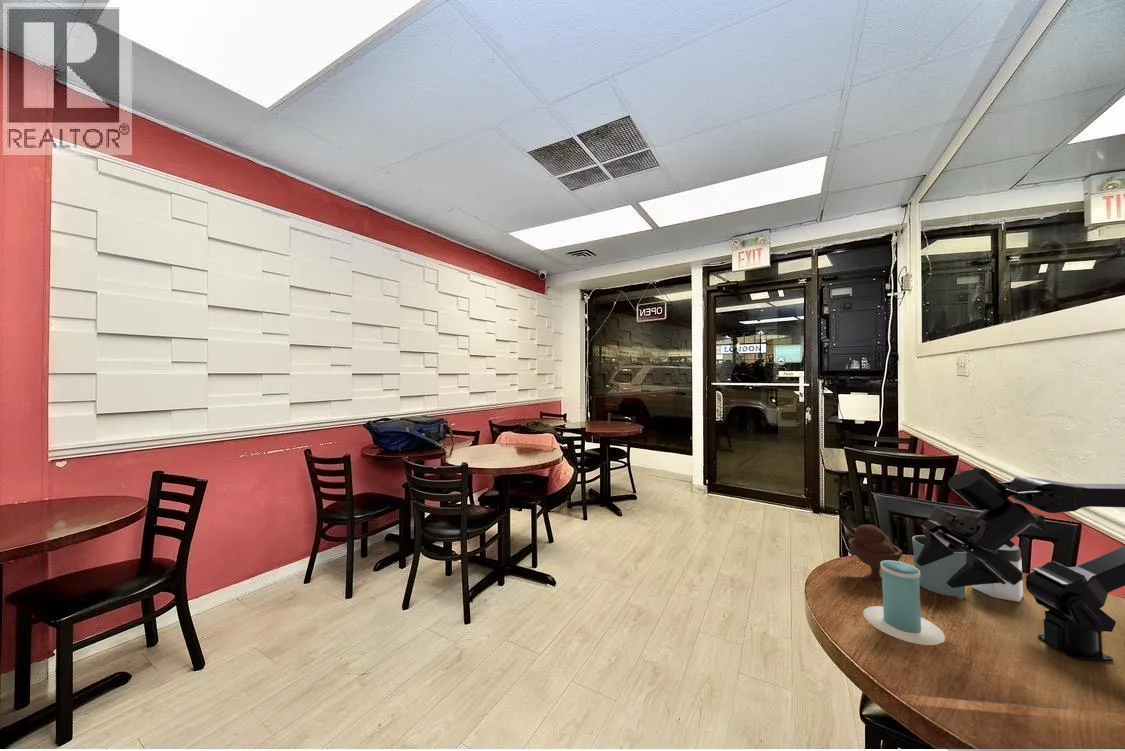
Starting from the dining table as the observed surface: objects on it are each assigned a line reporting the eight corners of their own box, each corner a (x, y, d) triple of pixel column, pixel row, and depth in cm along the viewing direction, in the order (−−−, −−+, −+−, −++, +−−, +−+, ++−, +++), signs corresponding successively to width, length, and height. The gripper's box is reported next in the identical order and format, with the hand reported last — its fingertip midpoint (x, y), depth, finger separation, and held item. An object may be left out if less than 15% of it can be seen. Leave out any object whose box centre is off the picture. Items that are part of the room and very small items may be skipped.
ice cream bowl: (906, 598, 92) (904, 536, 93) (849, 584, 99) (847, 526, 99) (901, 579, 101) (899, 522, 101) (849, 568, 107) (847, 514, 108)
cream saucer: (912, 612, 87) (912, 608, 87) (964, 652, 74) (964, 647, 74) (850, 608, 88) (850, 604, 89) (889, 647, 76) (889, 642, 76)
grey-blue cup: (912, 576, 102) (910, 531, 102) (966, 589, 96) (964, 541, 96) (915, 593, 94) (913, 544, 95) (974, 607, 88) (972, 555, 88)
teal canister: (907, 615, 84) (905, 561, 84) (931, 634, 77) (928, 575, 78) (875, 613, 85) (873, 559, 85) (896, 632, 78) (893, 574, 79)
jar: (1036, 601, 90) (1033, 550, 90) (1004, 603, 89) (1001, 552, 90) (991, 581, 99) (988, 535, 99) (961, 583, 98) (959, 536, 99)
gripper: (929, 484, 88) (875, 528, 90) (999, 510, 70) (929, 565, 72) (972, 521, 86) (916, 565, 88) (1056, 558, 68) (982, 612, 70)
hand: (932, 574), depth 80 cm, fingers open, 9 cm apart
